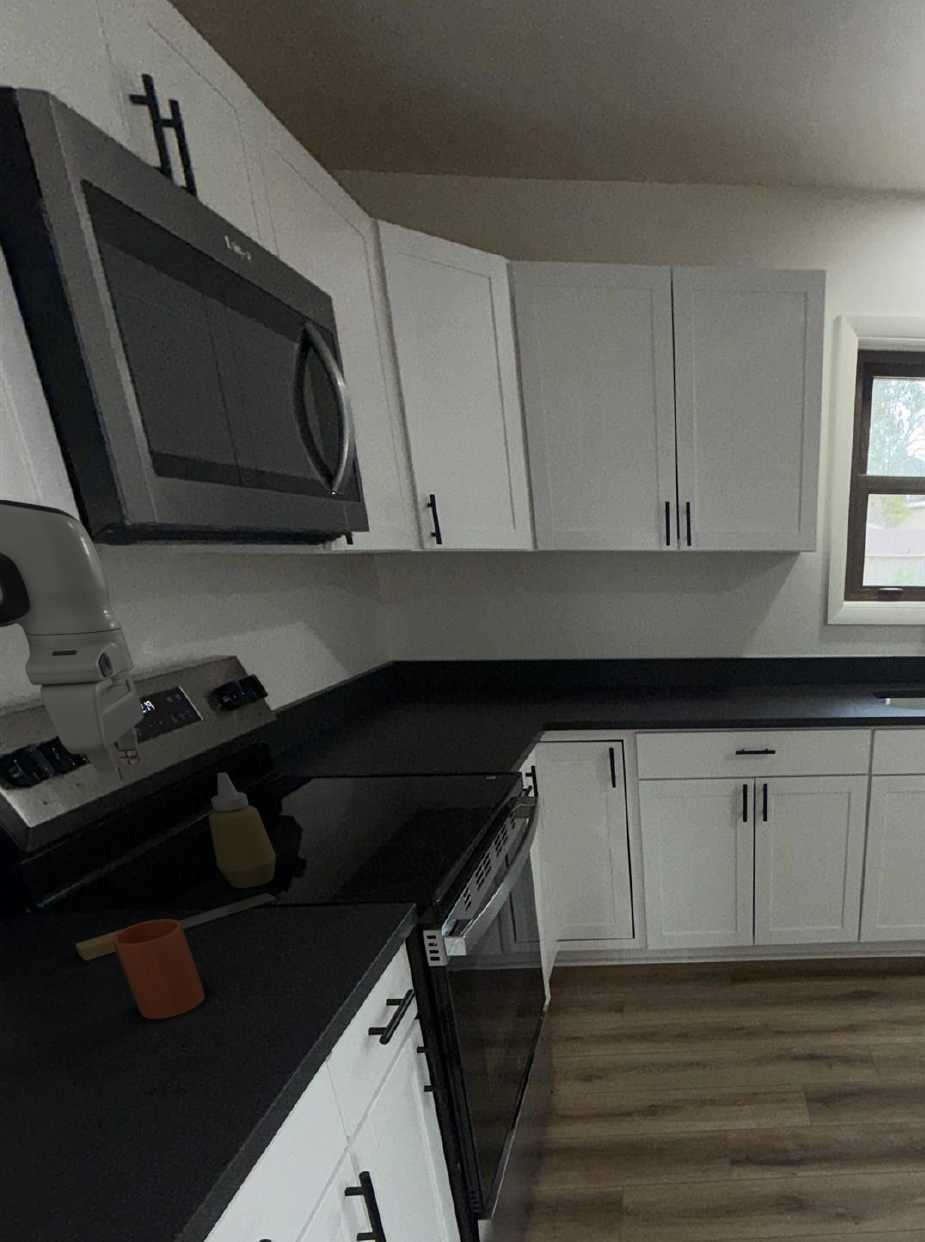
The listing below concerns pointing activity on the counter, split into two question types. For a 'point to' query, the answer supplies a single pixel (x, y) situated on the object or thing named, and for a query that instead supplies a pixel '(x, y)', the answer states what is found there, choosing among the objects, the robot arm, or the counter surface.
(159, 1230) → the counter surface
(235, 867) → the squeeze bottle
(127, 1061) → the counter surface
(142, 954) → the cup
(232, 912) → the knife
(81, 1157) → the counter surface
